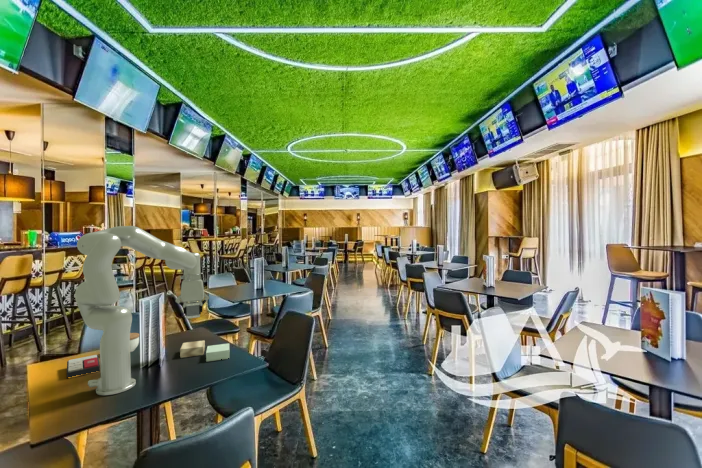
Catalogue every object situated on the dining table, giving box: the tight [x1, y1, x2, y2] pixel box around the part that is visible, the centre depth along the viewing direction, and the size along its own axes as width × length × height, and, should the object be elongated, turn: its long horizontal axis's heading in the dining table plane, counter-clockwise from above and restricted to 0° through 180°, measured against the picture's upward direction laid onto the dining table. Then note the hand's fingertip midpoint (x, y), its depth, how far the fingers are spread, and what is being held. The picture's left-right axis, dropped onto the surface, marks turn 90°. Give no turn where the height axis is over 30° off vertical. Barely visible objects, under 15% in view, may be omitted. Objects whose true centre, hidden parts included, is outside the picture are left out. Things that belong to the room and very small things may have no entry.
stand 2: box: [205, 342, 230, 363], centre depth 160 cm, size 10×10×4 cm
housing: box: [185, 301, 201, 319], centre depth 165 cm, size 6×6×8 cm
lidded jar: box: [130, 332, 140, 353], centre depth 170 cm, size 11×11×9 cm
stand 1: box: [179, 339, 206, 359], centre depth 166 cm, size 10×10×4 cm
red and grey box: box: [66, 354, 101, 378], centre depth 147 cm, size 11×4×15 cm
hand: (193, 314), depth 165 cm, fingers closed on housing, 5 cm apart
